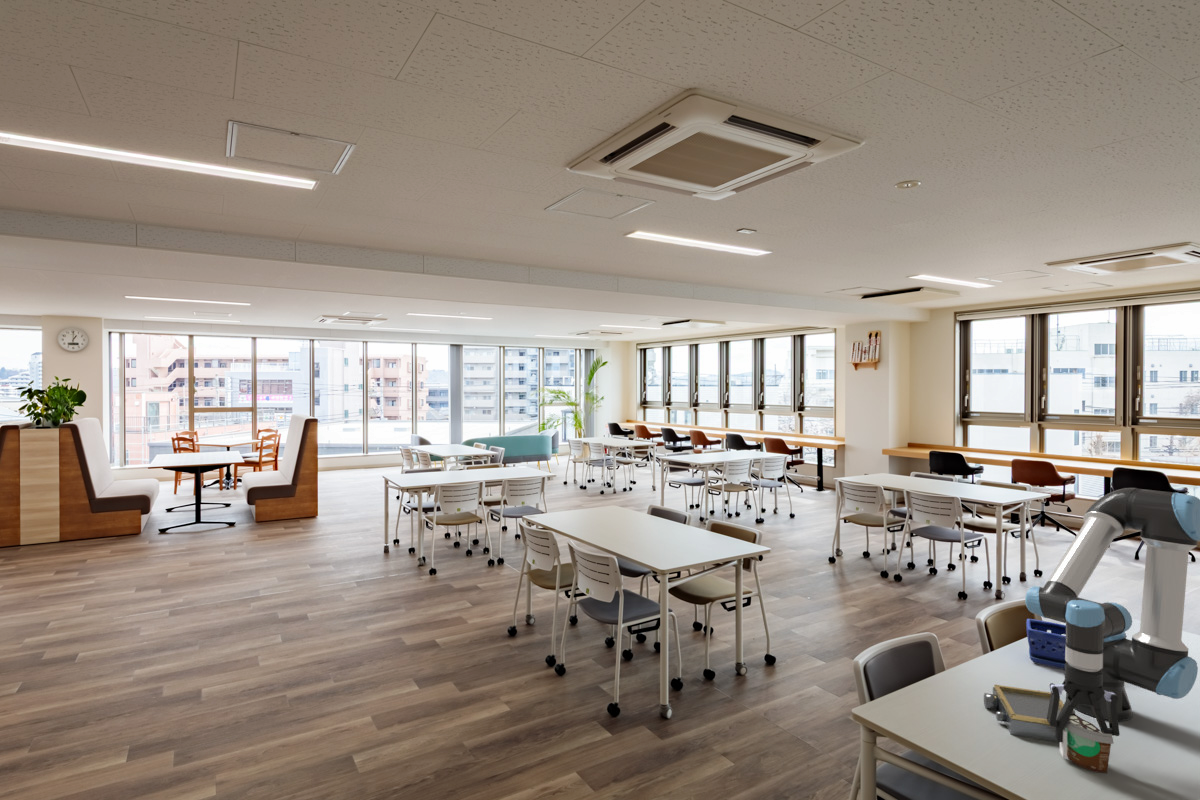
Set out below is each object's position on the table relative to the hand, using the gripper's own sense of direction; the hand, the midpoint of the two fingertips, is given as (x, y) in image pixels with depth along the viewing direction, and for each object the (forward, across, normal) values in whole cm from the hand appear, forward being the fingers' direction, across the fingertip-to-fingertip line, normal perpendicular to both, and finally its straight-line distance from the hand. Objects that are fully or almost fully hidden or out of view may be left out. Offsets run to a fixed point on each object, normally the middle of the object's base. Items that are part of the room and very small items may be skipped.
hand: (1081, 757), depth 160 cm
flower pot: (+2, -12, -68) cm, 69 cm away
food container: (+1, 0, 0) cm, 1 cm away
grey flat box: (+1, +7, -19) cm, 20 cm away
